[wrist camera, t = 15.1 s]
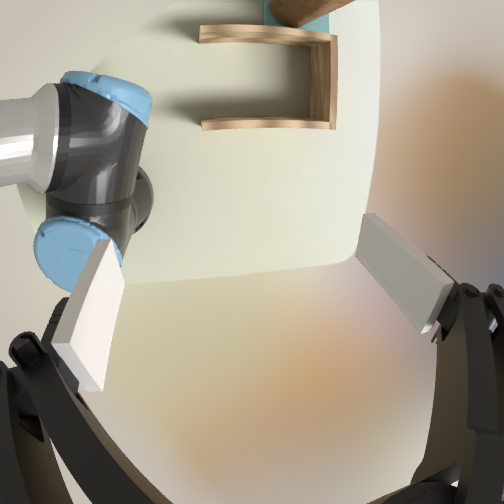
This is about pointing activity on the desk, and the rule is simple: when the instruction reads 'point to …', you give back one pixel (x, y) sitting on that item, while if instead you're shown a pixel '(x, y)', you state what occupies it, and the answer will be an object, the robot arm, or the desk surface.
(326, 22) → the mat
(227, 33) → the wooden u-shaped enclosure
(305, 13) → the brown pitted rock
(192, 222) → the desk surface
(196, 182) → the desk surface
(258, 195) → the desk surface
